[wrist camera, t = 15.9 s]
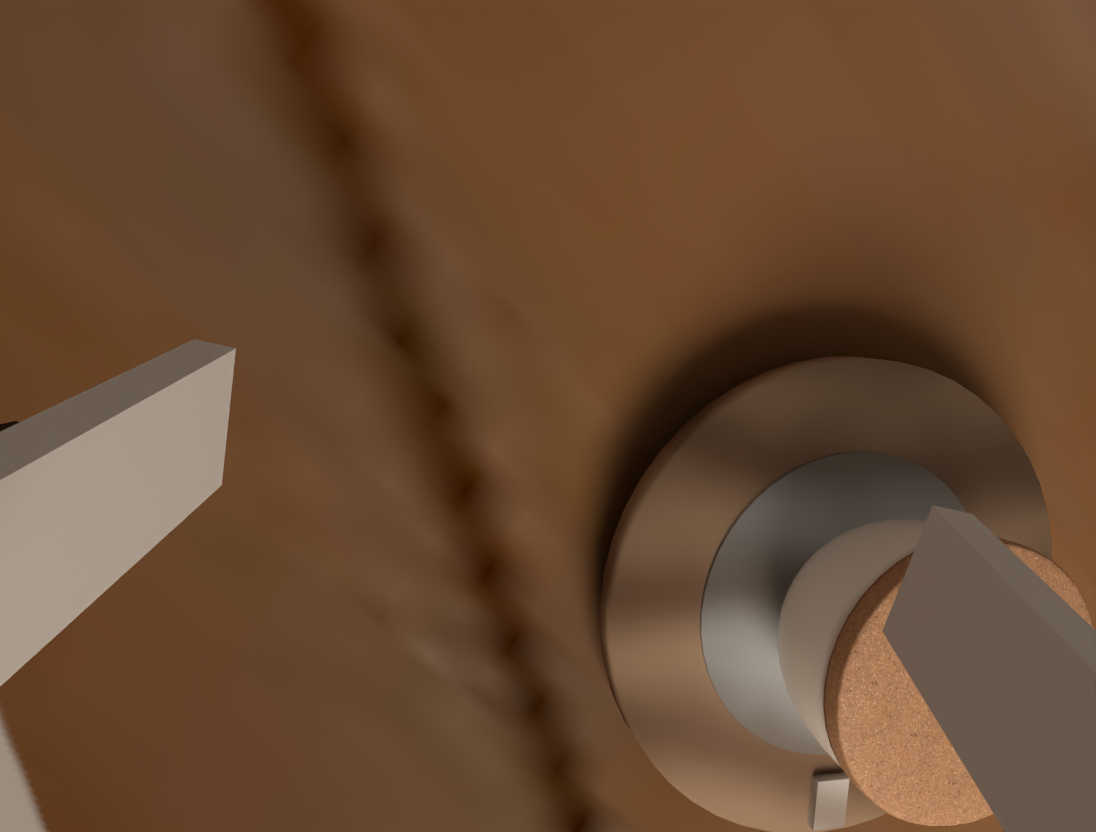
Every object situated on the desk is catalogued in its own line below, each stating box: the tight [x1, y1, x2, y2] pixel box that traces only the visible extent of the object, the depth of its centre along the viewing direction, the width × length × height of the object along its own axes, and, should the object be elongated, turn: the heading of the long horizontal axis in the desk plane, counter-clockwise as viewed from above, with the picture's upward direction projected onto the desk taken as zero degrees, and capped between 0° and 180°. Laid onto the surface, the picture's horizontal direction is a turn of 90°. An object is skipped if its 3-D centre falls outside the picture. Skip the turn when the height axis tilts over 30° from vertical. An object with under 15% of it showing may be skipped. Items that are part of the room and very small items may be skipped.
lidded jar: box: [777, 518, 1092, 826], centre depth 32 cm, size 11×11×9 cm
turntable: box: [600, 356, 1052, 832], centre depth 37 cm, size 22×22×2 cm
